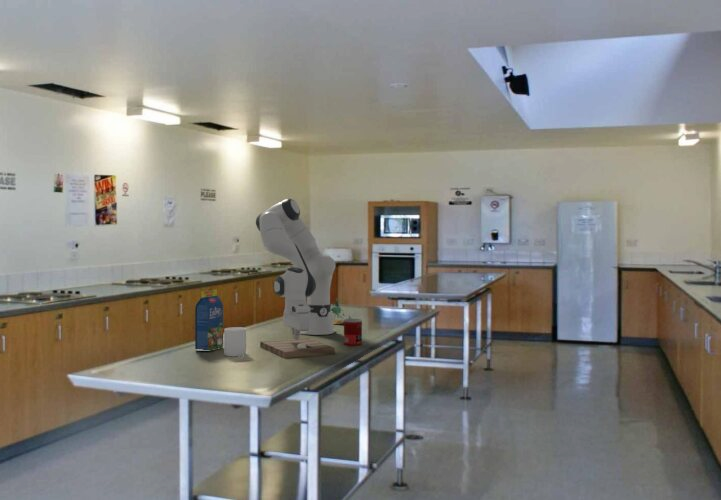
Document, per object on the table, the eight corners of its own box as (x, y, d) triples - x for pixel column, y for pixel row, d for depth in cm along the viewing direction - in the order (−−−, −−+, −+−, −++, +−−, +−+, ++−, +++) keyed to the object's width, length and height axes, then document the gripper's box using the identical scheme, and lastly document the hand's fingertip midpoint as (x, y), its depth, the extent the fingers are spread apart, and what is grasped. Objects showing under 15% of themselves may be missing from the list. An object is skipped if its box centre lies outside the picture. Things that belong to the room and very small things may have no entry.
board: (260, 347, 300) (260, 341, 299) (307, 343, 310) (307, 338, 310) (284, 358, 275) (284, 351, 275) (334, 353, 285) (334, 347, 285)
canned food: (359, 346, 303) (360, 321, 303) (342, 345, 305) (342, 320, 305) (363, 343, 311) (363, 318, 310) (345, 342, 312) (346, 318, 312)
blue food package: (194, 351, 289) (194, 291, 288) (210, 346, 300) (210, 288, 299) (207, 352, 287) (207, 291, 286) (223, 347, 298) (223, 289, 297)
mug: (253, 352, 287) (253, 326, 286) (239, 357, 275) (239, 330, 275) (235, 351, 290) (235, 325, 289) (220, 356, 278) (220, 329, 278)
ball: (294, 350, 288) (296, 341, 286) (303, 349, 290) (304, 341, 288) (298, 355, 284) (299, 346, 283) (307, 354, 286) (308, 345, 285)
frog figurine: (352, 326, 368) (349, 298, 368) (320, 328, 373) (317, 301, 373) (357, 323, 377) (354, 296, 377) (325, 325, 382) (322, 299, 382)
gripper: (279, 304, 301) (279, 336, 302) (298, 309, 283) (298, 343, 284) (293, 303, 304) (293, 335, 305) (312, 308, 286) (312, 342, 287)
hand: (295, 339), depth 294 cm, fingers closed
